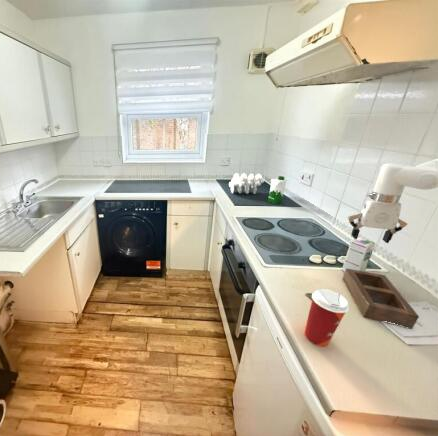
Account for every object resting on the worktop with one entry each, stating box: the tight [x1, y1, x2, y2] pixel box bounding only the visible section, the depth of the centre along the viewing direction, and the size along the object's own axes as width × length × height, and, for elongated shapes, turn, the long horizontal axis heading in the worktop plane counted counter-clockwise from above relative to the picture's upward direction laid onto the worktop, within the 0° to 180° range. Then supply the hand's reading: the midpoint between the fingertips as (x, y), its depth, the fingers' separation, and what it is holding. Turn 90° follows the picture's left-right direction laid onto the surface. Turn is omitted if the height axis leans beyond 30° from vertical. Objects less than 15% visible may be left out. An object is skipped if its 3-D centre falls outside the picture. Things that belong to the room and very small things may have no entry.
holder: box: [342, 268, 420, 330], centre depth 83 cm, size 12×22×5 cm, turn 157°
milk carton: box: [266, 175, 288, 206], centre depth 179 cm, size 9×9×20 cm
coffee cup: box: [304, 288, 350, 347], centre depth 67 cm, size 8×8×15 cm
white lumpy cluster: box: [228, 172, 265, 195], centre depth 202 cm, size 18×18×25 cm
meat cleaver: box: [304, 292, 314, 300], centre depth 82 cm, size 12×1×5 cm
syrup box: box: [341, 237, 376, 273], centre depth 97 cm, size 6×6×14 cm
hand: (369, 239), depth 93 cm, fingers open, 9 cm apart
